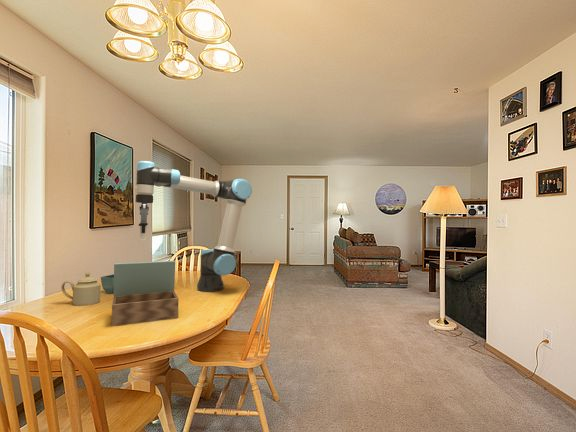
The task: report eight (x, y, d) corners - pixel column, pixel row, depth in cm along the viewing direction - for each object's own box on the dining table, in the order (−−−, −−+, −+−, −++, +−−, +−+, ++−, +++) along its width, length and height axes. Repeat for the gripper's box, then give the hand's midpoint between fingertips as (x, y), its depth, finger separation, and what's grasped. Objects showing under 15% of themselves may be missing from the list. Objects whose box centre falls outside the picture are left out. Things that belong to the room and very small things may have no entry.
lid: (174, 291, 140) (173, 290, 141) (175, 261, 138) (175, 260, 139) (113, 296, 129) (113, 295, 130) (114, 264, 127) (114, 263, 128)
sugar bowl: (65, 309, 136) (66, 275, 137) (60, 303, 144) (61, 271, 144) (103, 302, 147) (103, 271, 147) (96, 298, 155) (97, 268, 155)
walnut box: (173, 308, 140) (174, 291, 140) (178, 317, 127) (178, 298, 127) (113, 315, 129) (113, 296, 129) (111, 326, 116) (111, 305, 116)
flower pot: (99, 293, 164) (100, 276, 164) (113, 289, 173) (113, 273, 173) (112, 295, 162) (113, 278, 162) (126, 291, 170) (126, 275, 170)
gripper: (136, 195, 154) (134, 237, 154) (135, 191, 132) (133, 241, 131) (152, 196, 157) (151, 237, 157) (154, 193, 135) (152, 241, 135)
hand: (142, 239), depth 144 cm, fingers open, 13 cm apart
